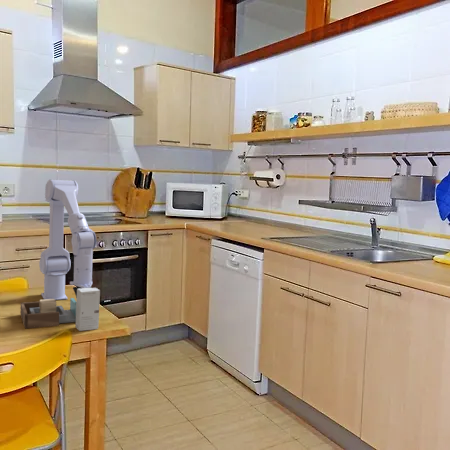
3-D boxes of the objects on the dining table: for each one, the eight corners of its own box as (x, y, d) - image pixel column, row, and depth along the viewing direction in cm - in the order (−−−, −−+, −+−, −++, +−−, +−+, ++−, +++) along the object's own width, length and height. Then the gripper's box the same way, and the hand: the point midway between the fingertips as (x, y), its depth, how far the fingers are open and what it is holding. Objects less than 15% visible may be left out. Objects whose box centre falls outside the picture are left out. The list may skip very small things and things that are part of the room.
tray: (28, 314, 158) (29, 301, 157) (73, 310, 164) (73, 298, 164) (33, 326, 146) (33, 312, 146) (81, 322, 153) (81, 308, 152)
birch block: (39, 315, 155) (39, 299, 154) (53, 313, 157) (54, 298, 156) (41, 319, 151) (41, 303, 150) (56, 317, 153) (56, 302, 153)
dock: (20, 314, 157) (20, 302, 156) (51, 312, 161) (52, 300, 161) (25, 328, 144) (25, 315, 144) (58, 325, 149) (59, 312, 149)
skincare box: (79, 331, 145) (80, 292, 143) (74, 327, 148) (75, 288, 147) (99, 328, 148) (100, 290, 147) (94, 324, 152) (95, 286, 150)
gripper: (66, 264, 162) (65, 303, 163) (74, 273, 149) (73, 316, 151) (87, 263, 165) (86, 302, 167) (97, 272, 152) (96, 314, 154)
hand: (82, 309), depth 159 cm, fingers closed, pressing on tray
